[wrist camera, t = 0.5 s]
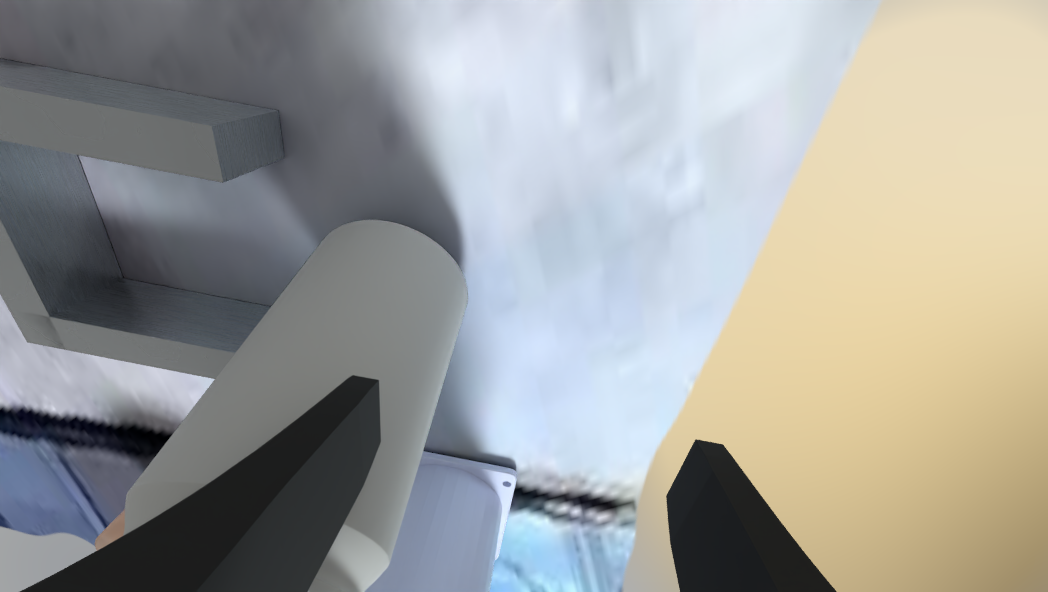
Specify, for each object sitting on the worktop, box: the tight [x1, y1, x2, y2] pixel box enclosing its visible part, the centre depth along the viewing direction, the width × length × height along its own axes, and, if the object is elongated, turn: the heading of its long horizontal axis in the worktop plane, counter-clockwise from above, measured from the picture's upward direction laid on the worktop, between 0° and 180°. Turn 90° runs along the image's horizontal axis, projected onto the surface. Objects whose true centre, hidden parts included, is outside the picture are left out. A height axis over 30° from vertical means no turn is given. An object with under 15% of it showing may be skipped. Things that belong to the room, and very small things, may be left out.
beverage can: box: [123, 220, 468, 592], centre depth 14 cm, size 6×6×12 cm
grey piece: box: [0, 58, 284, 379], centre depth 18 cm, size 11×11×4 cm
